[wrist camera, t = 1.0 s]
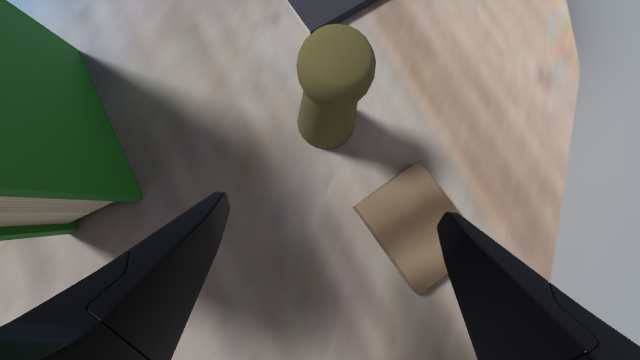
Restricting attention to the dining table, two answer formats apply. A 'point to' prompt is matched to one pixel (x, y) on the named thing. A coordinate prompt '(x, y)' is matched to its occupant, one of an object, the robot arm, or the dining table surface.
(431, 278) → the tan flat block
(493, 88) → the dining table surface
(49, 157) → the hardback book
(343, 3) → the notebook
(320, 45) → the cork
